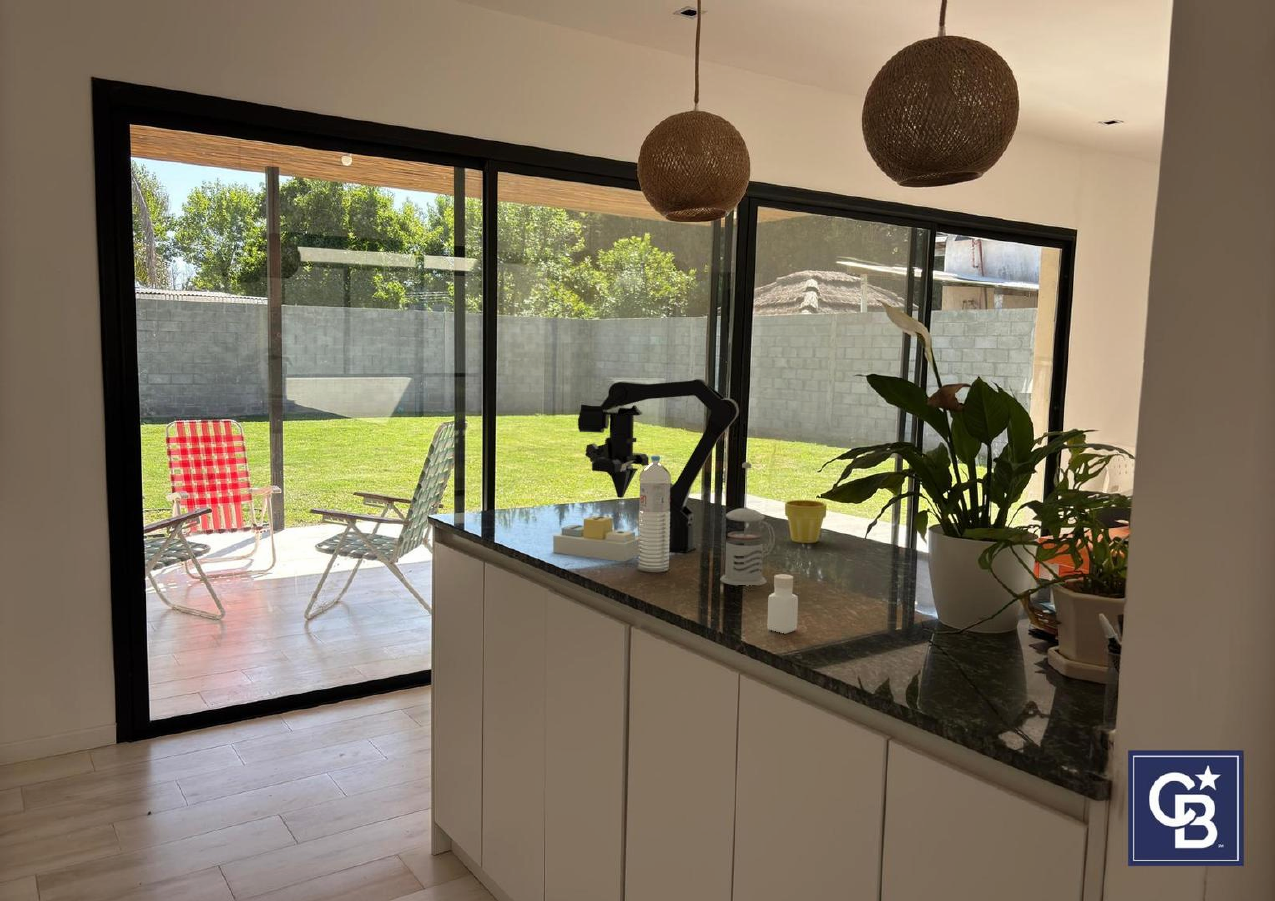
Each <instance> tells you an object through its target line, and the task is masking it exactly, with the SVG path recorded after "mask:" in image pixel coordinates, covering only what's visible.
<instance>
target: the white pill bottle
mask: <svg viewBox="0 0 1275 901" xmlns="http://www.w3.org/2000/svg"><path fill="white" fill-rule="evenodd" d="M773 578H774V579H773V583H774V584H773V587H774V592H773V593H771V594H769V596H768V598H767V601H768V602H767V623H766V624H767V626H766V627H767V630H769V631H771V630H772V632H775V631H776V633H779V632H780V633H779V634H783V633H784V635H785V634H789V633H791V632H794V631H796V630H797V627H798V610H799V609H798V607H799V605H798V603H799V597H798V596H797V595H796V594H794V593H793V589H794V576H793V575H791V574H785V573H784V574H783V573H782V574H781V573H780V574H775V575H774V577H773Z"/></svg>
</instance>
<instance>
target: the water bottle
mask: <svg viewBox="0 0 1275 901" xmlns="http://www.w3.org/2000/svg"><path fill="white" fill-rule="evenodd" d="M650 457H651V458H650V460H651V462H650V463H648V465H646V466H644V468H643V469H642V471H641V472H640V474H639V479H638V480H639V505H638V506H639V510H638V533H637V534H638V536H637V537H638V539H639V540H638V556H637V567H638V570H639V571H642V572H644V573H649V574H650V573H652V574H653V573H654V574H655V573H656V574H657V573H664V572H666V571H668V570H669V567H670V551H669V543H670V541H669V539H670V536H669V535H670V532H669V531H670V528H669V527H670V483H672V482H671V481H672V476H671V474H670V472H669V470H668V469H667V468H666V467H665V466H664V465H663V464H661V463H660V460H661V456H660V455H651V456H650Z"/></svg>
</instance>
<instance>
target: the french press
mask: <svg viewBox="0 0 1275 901" xmlns="http://www.w3.org/2000/svg"><path fill="white" fill-rule="evenodd" d="M741 467H742V468H743V469H746V470H745V493H747V491H748V490H747V486H748V484H747V482H748V469H751V468H752V464H751V463H750V462H747V461H745V462H743V463H742V465H741ZM744 501H745V502H744V507H743V508H736V509H734V510H731V511H729V512H727V513H726V514H725V517H726V518H727V519H728V520H732V521H738V522H744V526H747V525H746V524H747V522H758V527H759V529H763V528H764V525H765V526H766V527H767V528H768V533H769V541H768V544H767V547H766V548H765V549H764V542H763V541H761V542H760V539H761V538H762V534H761V533H759V532H754V531H748V530H747V531H746V529H744V530H739V531H731V532H729V533H727V537H728V538H730V539H726V540H725V564H724V565H725V566H724V567H725V569H724V574H723V575H722V576H721V577H720V579H719V581H721V580H722V581H721V582H722V583H724V584H727V585H733V586H738V585H746V586H745V587H753V586H752V585H756V586H761V585H765V584H766V583H767V579H766V578H765V577H764V576H763V562H764V561H763V559H764V557H765V556H767V555H769V554H770V553H771V552H772V550H773V548H774V544H775V540H776V535H775V531H774V528H773V527H772V526H771V524H770V523H768V522H767V521H763V520H764V519H765V517H766V516H765V515H764V514H762V513H761V512H759V511H757V510H755V509H752V508H748V507H747V494H745V499H744ZM761 523H762V526H761ZM771 531H772V533H771ZM772 535H773V537H772ZM772 539H773V540H772ZM771 541H772V545H771V548H770V547H769V546H770V544H771ZM739 544H744V545H739ZM769 548H770V550H769V551H768V549H769ZM766 551H768V552H766ZM764 553H765V554H764ZM741 556H743V557H744V558H743V557H741ZM736 557H737V558H736ZM759 569H760V570H759ZM749 585H751V586H749Z"/></svg>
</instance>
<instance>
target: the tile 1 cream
mask: <svg viewBox="0 0 1275 901" xmlns="http://www.w3.org/2000/svg"><path fill="white" fill-rule="evenodd" d="M635 537H636V532H635V531H630V530H620V529H615V530H613V531H611V532H608V533H606V540H608V541H616V542H624V543H626V542H629V541H632V540H634V539H635Z"/></svg>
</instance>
